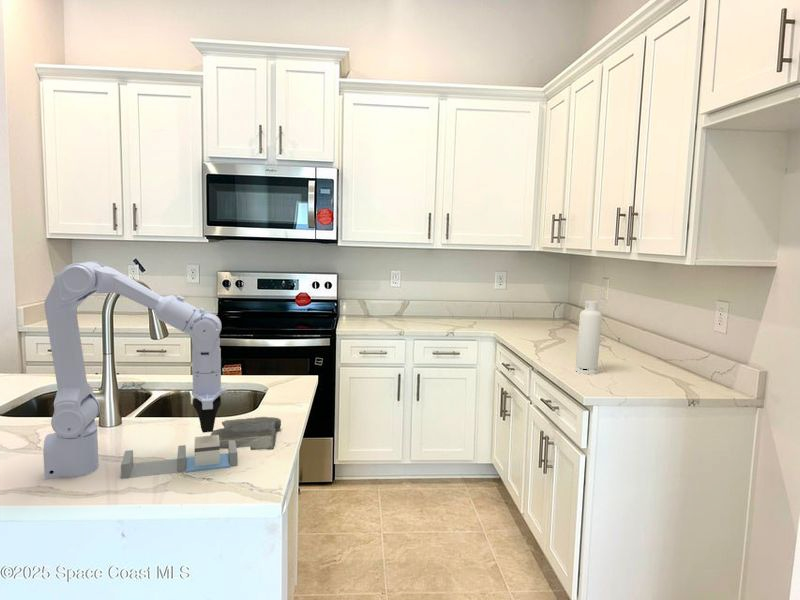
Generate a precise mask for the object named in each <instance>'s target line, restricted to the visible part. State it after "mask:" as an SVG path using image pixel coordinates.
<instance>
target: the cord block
mask: <svg viewBox="0 0 800 600" xmlns="http://www.w3.org/2000/svg"><path fill="white" fill-rule="evenodd" d="M220 450H221V448H220V441H219V435H213V436H210V435H205V436H202V435H201V436H194V457H195V466H204V465H213V464H220V454H221V451H220Z"/></svg>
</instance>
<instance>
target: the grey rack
mask: <svg viewBox="0 0 800 600" xmlns="http://www.w3.org/2000/svg"><path fill="white" fill-rule="evenodd" d="M186 448H187V445H186V444H183V445H182V444H181V445H178V448H177V458H172V459H163V460H153V461H144V462H143V461H142V462H134V449H133V450H132V449H131V450H130V449H129V450H125V451H124V454H123V456H122V460H121V462H120V463H121V464H120V474H121V475H120V479H122V480H123V479H124V480H125V479H133V478H140V477H141V478H142V477H150V476H159V475H169V474H175V473H176V474H177V473H196V472H202V471H203V472H204V471H211V470H221V469H230V468H231V467H238V449H237V448H238V447H236V442H235V440H232V441H228V448H227V450H228V453H226V452H225V453H220V464H213V465H204V466H195V456H188V457H187V451H186V450H187V449H186Z"/></svg>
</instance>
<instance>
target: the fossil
mask: <svg viewBox="0 0 800 600" xmlns="http://www.w3.org/2000/svg"><path fill="white" fill-rule="evenodd" d="M221 425H222V426H223V428H218V429H213V431H212V432H210V434H209V436H213V435H219V441H220V449H228V441H232V440H235V442H236V448H250V451H254V450H253V449H268V450H272V449H274V447H276V437H277V432H279V431H281V426H282V420H281V418H279V417H271V416H270V417H269V416H259V417H258V416H257V417H248V418H237V419H226V420H224V421H222V422H221Z"/></svg>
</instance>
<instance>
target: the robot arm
mask: <svg viewBox="0 0 800 600" xmlns="http://www.w3.org/2000/svg"><path fill="white" fill-rule="evenodd" d="M53 277H54V278H53V283H52V285H51V288H50V289H49V292H48V293H47V295H46V297H45V300H44V303H43V304H44V306H43V307H44V313H45V321H46V325H47V331H48V338H49V343H50V350H51V356H52V362H53V369H54V375H55V381H56V386H57V388H56V389H57V392H56V395H55V397H54V401H53V408H54V409H53V410H54V411H53V415H52V417H51V422H50V424H51V428H52V430H53V431H54V433H47V434H46V435H45V437H44V440H43V448H42V449H43V450H42V451H43V471H44V472H43V476H44V477H43V478H44V480H43V482H45V481H46V480H47V479H48V480H49V479H58V478H77V477H82V476H86V475H88V474H92V473H94V472H95V471H97V470H98V469H99V467H100V463H99V438H98V425H97V424H96V422H95V420H96V418H98V416H99V414H100V411H101V406H100V405H101V404H100V402H99V400H98V399H97V398H96V396H95V394H94V390H93V387H92V385H90V384H89V383H88V380H87V374H86V367H85V366H86V365H85V360H84V352H83V346H82V340H81V334H80V326H79V320H78V313H77V308H78V307H80V306H81V304H82V303H83V302H84V301H85V300H86V299H87V298H88V297H90V296H91V295H93V294H114V293H115V294H118V295H120V296H122V297H125V298H127V299H129V300H131V301H133V302H135V303H138V304H139V305H142V306H144V307H146V308H148V309H150V310H152V311H154V313H155V316H156V319H157V320H158V321H161V322H163V323H165V324H166V325H168V326H171V327H173V328H175V329H177V330H178V331H180V332H182V333H184V334H189V336H190V338H191V340H192V350H191V352H192V353H191V354H192V355H191V358H192V360H191V361H192V364H191V365H192V390H191V396H192V397H194V398H193V399H192V403H193V404H192V406H193V407H194V410H195V411H196V413H197V416H198V420H199V423H200V428H201V429H200V430H201V432H202V434H203V433H212V431H214V427H215V423H216V422H215V421H216V416H217V414H218V410H219V409H220V408H221V404H222V399H221V398H222V397H221V395H222V394H226V393H227V392H228V391H227V390H228V389H227V387H222V369H221V368H222V357H221V356H222V355H221V353H222V352H221V351H222V349H221V347H220V346H221V339H220V337H221V336H220V334H221V331H222V321H221V319H220V318H219V316H217V315H216V314H214V312H211V311H205V308H203V307H200V308H197V307H196V306H194V305H192V304H190V303H188V302H187V301H185V300H184V299H185V297H184V296H182V295H179V294H178V295H177V296H175V295H173V294H171V295H166V296H162V295H160V294H158V293H156V292H155V291H154V290H152V289H149V288H148V287H146V286H145V285H143V284H141V283H140V282H138V281H136V280H134V279H133V278H131V277H129V276H127V275H125V274H124V273H122V272H120V271H118V270H117V269H114V267H111V266H107V265H104V264H102V263H100V262H99V261H95V260H87V261H83V262H80V263H71V264H68V265H66V266H65V267H63V269H61V270H60V271H59V272H57V273H56V274H55V275H54V276H53ZM51 471H53V472H51Z"/></svg>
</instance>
